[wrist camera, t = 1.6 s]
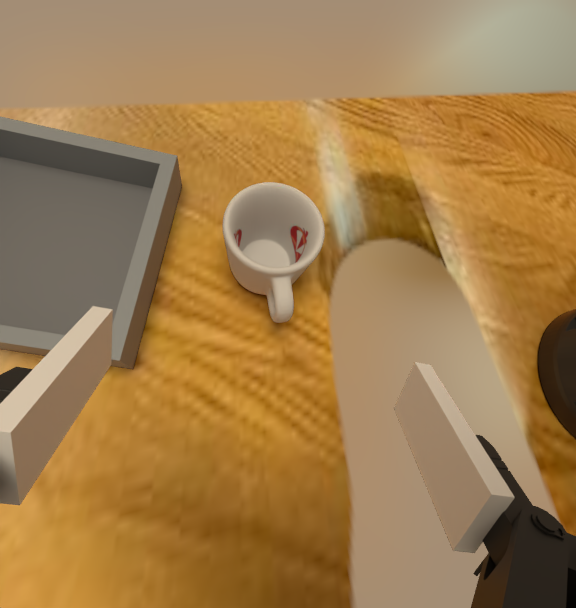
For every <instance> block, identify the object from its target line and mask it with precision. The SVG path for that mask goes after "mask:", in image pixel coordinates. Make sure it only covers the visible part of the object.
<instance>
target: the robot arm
mask: <svg viewBox="0 0 576 608" xmlns="http://www.w3.org/2000/svg"><path fill="white" fill-rule="evenodd" d="M112 316H113V309H107V308H101V307H96V306H92V308H91V309H90V310H89V311H88V312H87V313H86V314H85V315H84V316H83V317H82V318H81V319H80V320H79V321H78V322H77V323H76V324H75V325H74V327H73V328H72V329H71V330H70V331H69V332H68V333H67V334H66V335H65V336H64V337H63V338H62V339H61V340H60V341H59V342H58V343H57V344H56V346H55V347H54V348H53V349H52V350H51V351H50V352H49V353H48V354H47V355H46V356H45V357H44V358H43V359H42V360H41V361H40V362H39V363H38V365H37V366H36V367H35V368H34V369H27V368H21V367H15V368H13V369H11V370H9V371H7V372H5V373H3V374H1V375H0V503H4V504H13V505H20V504H21V503H22V501H23V500H24V498H25V497H26V495H27V493H28V492H29V490H30V489H31V487H32V486H33V484H34V483H35V481H36V480H37V478H38V477H39V475H40V473H41V472H42V470H43V469H44V467H45V466H46V464H47V463H48V461H49V460H50V458H51V457H52V455H53V453H54V452H55V450H56V449H57V447H58V446H59V444H60V443H61V441H62V440H63V438H64V437H65V435H66V433H67V432H68V430H69V429H70V427H71V426H72V424H73V423H74V421H75V420H76V418H77V416H78V415H79V413H80V412H81V410H82V409H83V407H84V406H85V404H86V403H87V401H88V400H89V398H90V396H91V395H92V393H93V392H94V390H95V389H96V387H97V386H98V384H99V383H100V381H101V380H102V378H103V376H104V375H105V373H106V372H107V370H108V369H109V367H110V366H111V355H112ZM538 364H539V374H540V379H541V383H542V387H543V390H544V393H545V395H546V398H547V400H548V402H549V404H550V406H551V408H552V410H553V411H554V413H555V415H556V416H557V418H558V419H559V420H560V422H561V423H562V424H563V425H564V427H565V428H566V429H567V430H568V431H569V432H570V433H571V434H572V435H573V436H574V437H575V438H576V309H575V310H572V311H569V312H566V313H564V314H562V315H560V316H559V317H557V318H556V319H555V320H554V321H553V322H552V323H551V324H550V325H549V326H548V328H547V329H546V331H545V333H544V335H543V337H542V340H541V344H540V348H539V357H538ZM394 410H395V412H396V415H397V417H398V420H399V422H400V424H401V427H402V429H403V432H404V434H405V436H406V439H407V441H408V443H409V446H410V449H411V451H412V453H413V456H414V458H415V461H416V463H417V465H418V468H419V470H420V472H421V475H422V477H423V480H424V482H425V485H426V487H427V489H428V492H429V494H430V497H431V499H432V501H433V504H434V506H435V509H436V511H437V514H438V516H439V518H440V521H441V523H442V525H443V528H444V530H445V533H446V535H447V538H448V540H449V542H450V545H451V547H452V550H453V551H461V552H470V553H475V552H476V550H477V549H478V547H479V546H480V544H481V543H482V542H484V544H485V546H486V548H487V550H488V552H489V553H488V555H487V556H486V558H485V559H484V560H483V561H482V563H481V564H480V565H479V567H478V568H477V569H476V571H475V572H474V574H475V575H476V576H478V574H479V573H480V572H481V573H480V576H479V580H478V584H477V587H476V591H475V595H474V598H473V602H472V606H471V608H576V536H573V535H571V534H569V533H566V531H565V529H564V528H563V526H562V525H561V524H560V523H559V522H558V521H557V520H556V519H555V518H554V517H553V516H552V515H550V514H549V513H548V512H546V511H544V510H543V509H541V508H539V507H536V506H533V505H532V504H531V502H530V501H529V499H528V498H527V496H526V495H525V493H524V492H523V490H522V489H521V487H520V486H519V484H518V483H517V482H516V480H515V479H514V477H513V475H512V474H511V472H510V471H508V468H507V466H506V465H505V463H504V462H503V461H501V457H500V456H499V455H498V453H497V451H496V450H495V449H494V447H493V446H492V445H491V444H490V443H489V442H488V441H487V440H486V439H485V438H483V437H482V436H480V435H475V434H474V432H473V431H472V429H471V428H470V426H469V424H468V423H467V421H466V420H465V418H464V417H463V415H462V414H461V412H460V410H459V409H458V407H457V406H456V404H455V402H454V401H453V399H452V398H451V396H450V395H449V393H448V391H447V390H446V388H445V387H444V385H443V384H442V382H441V380H440V379H439V377H438V376H437V374H436V373H435V371H434V370H433V368H432V366H431V365H429V364H423V363H418V362H415V363H414V365H413V367H412V369H411V371H410V374H409V376H408V378H407V380H406V383H405V385H404V387H403V389H402V391H401V394H400V396H399V398H398V401H397V403H396V405H395V407H394Z"/></svg>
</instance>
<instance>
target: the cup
mask: <svg viewBox="0 0 576 608" xmlns="http://www.w3.org/2000/svg"><path fill="white" fill-rule="evenodd" d="M324 232H325V231H324V223H323V219H322V216H321V214H320V212H319V210H318V208H317V207H316V205H315V204H314V203H313V202H312V200H311V199H310V198H309V197H307V196H306V195H305V194H304V193H302V192H301V191H299V190H297V189H295V188H294V187H291V186H288V185H285V184H281V183H272V182H267V183H259V184H255V185H252V186H249V187H247V188H245V189H244V190H242V191H240V192H239V193H238V194H237V195H236V196H235V197H234V198H233V199H232V200H231V201H230V203H229V205H228V206H227V209H226V211H225V214H224V218H223V234H224V239H225V244H226V250H227V255H228V260H229V264H230V268H231V271H232V273H233V275H234V277H235V278H236V280H237V281H238V282H239V283H240V284H241V285H242V286H243V287H244V288H246V289H247V290H249V291H251V292H254V293H257V294H262V295H267V300H268V306H269V311H270V315H271V318H272V320H273V321H274V322H277V323H282V322H286V321H288V320H289V319H290V318H291V317H292V314H293V308H294V301H293V292H292V286H291V285H292V284H293V283H294V282H295V281H296V280H297V279H298V278H299V276H300V275H301V274H302V273H303V272H304V271H305V270H306V269H307V267H308V266H309V265H310V264H311V263H312V262H313V261H314V260H315V258H316V257H317V255H318V254H319V252H320V250H321V248H322V245H323V241H324Z"/></svg>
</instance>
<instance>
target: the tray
mask: <svg viewBox="0 0 576 608" xmlns="http://www.w3.org/2000/svg"><path fill="white" fill-rule="evenodd" d="M181 188H182V183H181V177H180V171H179V164H178V158H177V156H176V155H171V154H167V153H162V152H158V151H153V150H149V149H144V148H140V147H135V146H131V145H126V144H122V143H117V142H113V141H108V140H104V139H99V138H94V137H90V136H85V135H81V134H76V133H72V132H67V131H63V130H58V129H54V128H49V127H45V126H40V125H36V124H31V123H27V122H22V121H18V120H13V119H9V118H4V117H0V349H4V350H10V351H17V352H23V353H30V354H36V355H43V356H46V355H47V354H48V353H49V352H50V351H51V350H52V349H53V348H54V347H55V346H56V344H57V343H58V342H59V341H60V340H61V339H62V338H63V337H64V336H65V335H66V334H67V333H68V332H69V331H70V330H71V329H72V328H73V327H74V325H75V324H76V323H77V322H78V321H79V320H80V319H81V318H82V317H83V316H84V315H85V314H86V313H87V312H88V311H89V310H90V309H91V308H92V306H96V307H101V308H107V309H113V316H112V355H111V366H115V367H121V368H128V369H133V368H134V364H135V360H136V357H137V353H138V349H139V345H140V342H141V338H142V334H143V330H144V327H145V323H146V319H147V315H148V312H149V308H150V304H151V300H152V297H153V293H154V289H155V285H156V282H157V278H158V274H159V270H160V267H161V263H162V259H163V255H164V252H165V248H166V244H167V240H168V237H169V233H170V229H171V225H172V222H173V218H174V214H175V210H176V207H177V203H178V199H179V195H180V192H181Z"/></svg>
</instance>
